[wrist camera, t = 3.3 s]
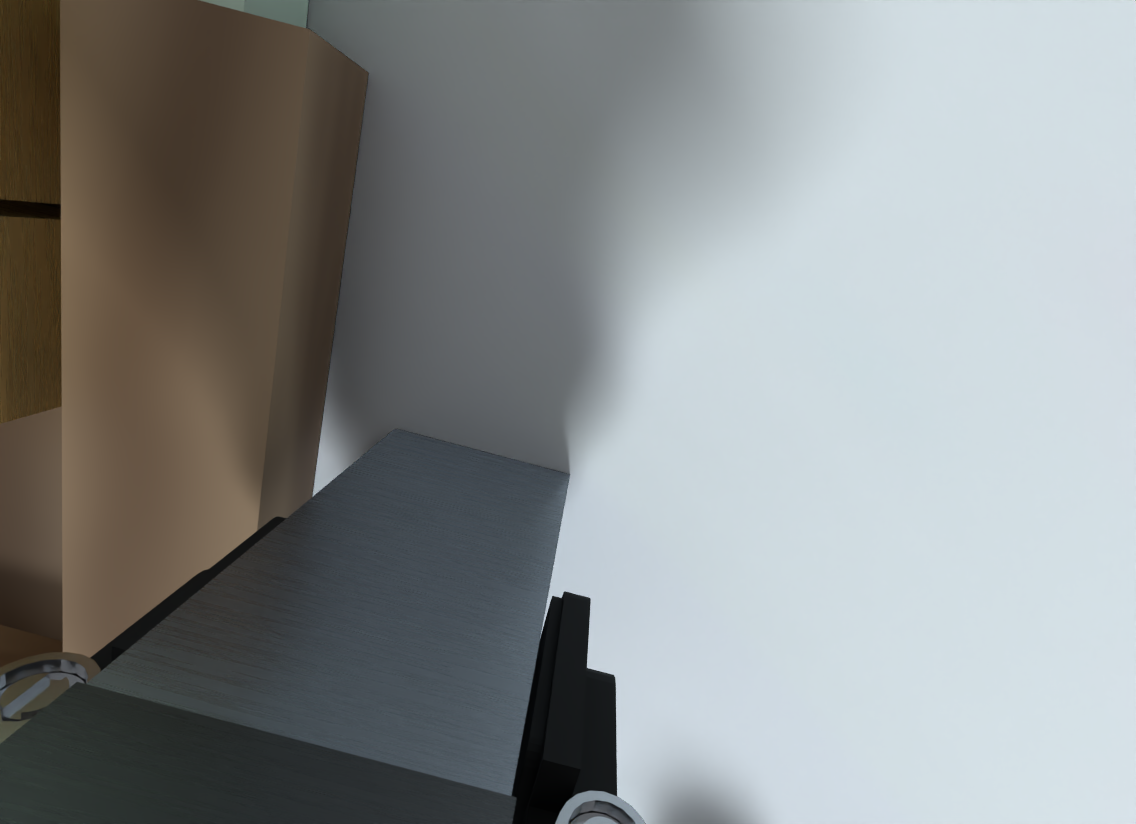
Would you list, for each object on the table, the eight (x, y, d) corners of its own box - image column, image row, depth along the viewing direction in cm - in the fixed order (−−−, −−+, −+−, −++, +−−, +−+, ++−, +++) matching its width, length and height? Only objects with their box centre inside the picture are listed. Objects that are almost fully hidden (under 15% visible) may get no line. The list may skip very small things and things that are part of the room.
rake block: (572, 473, 14) (452, 1172, 3) (525, 643, 15) (337, 1511, 5) (393, 426, 14) (-290, 977, 3) (363, 601, 15) (-183, 1376, 5)
